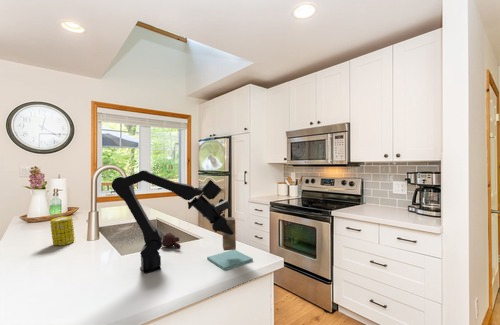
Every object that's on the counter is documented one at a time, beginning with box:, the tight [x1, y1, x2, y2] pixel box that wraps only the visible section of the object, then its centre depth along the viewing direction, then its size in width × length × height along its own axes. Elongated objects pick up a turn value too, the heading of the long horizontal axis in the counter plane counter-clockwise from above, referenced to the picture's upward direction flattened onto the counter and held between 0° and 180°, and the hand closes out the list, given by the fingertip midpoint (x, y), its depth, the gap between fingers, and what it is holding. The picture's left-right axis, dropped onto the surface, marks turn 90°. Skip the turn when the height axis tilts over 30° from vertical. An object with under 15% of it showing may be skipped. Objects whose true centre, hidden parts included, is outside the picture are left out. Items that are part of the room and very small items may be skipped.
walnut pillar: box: [222, 216, 237, 252], centre depth 108 cm, size 5×5×12 cm
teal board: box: [206, 249, 254, 271], centre depth 108 cm, size 14×14×1 cm
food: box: [50, 215, 76, 246], centre depth 135 cm, size 15×12×10 cm
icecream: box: [162, 232, 182, 249], centre depth 127 cm, size 7×7×15 cm
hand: (232, 232), depth 108 cm, fingers closed on walnut pillar, 5 cm apart
